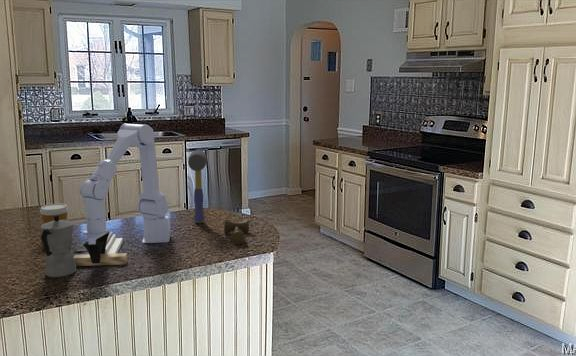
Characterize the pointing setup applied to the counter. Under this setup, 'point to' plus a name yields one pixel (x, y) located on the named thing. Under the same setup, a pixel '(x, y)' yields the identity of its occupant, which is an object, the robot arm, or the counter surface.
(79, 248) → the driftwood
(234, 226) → the kendama
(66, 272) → the coffeepot
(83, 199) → the robot arm
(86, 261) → the oak bar
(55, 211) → the disposable coffee cup
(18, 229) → the counter surface
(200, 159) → the rubber mallet
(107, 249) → the ridge block
